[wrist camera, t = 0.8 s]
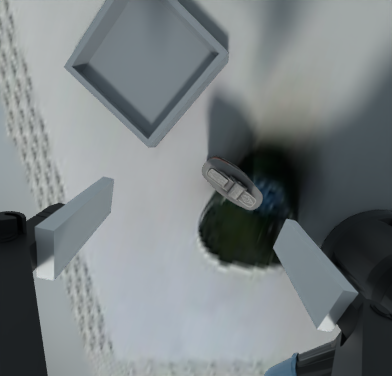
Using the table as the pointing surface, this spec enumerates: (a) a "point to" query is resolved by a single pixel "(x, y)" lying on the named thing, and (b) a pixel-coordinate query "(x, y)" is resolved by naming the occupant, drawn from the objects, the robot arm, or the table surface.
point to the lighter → (232, 183)
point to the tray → (146, 63)
